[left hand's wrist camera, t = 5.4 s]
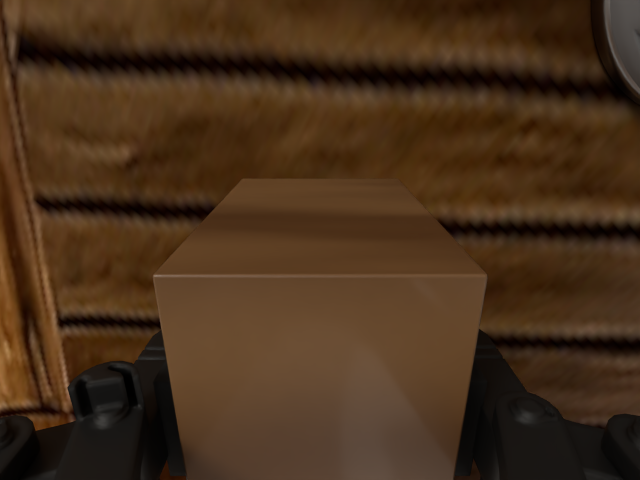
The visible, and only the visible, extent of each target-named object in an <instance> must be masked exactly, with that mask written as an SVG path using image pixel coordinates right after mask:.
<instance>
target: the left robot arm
mask: <svg viewBox="0 0 640 480" xmlns="http://www.w3.org/2000/svg"><path fill="white" fill-rule="evenodd" d="M591 18H592V28H593V33H594V38H595V43H596V46H597V49H598V53H599V56H600V58H601V60H602V62H603V65H604V67H605V69H606V70H607V72H608V74H609V75H610V77H611V79H612V80H613V81H614V82H615V84H616V85H617V86H618V88H619V89H620V90H621V91H622V92H623V93H624V94H625V95H626V96H628V97H629V98H630V99H632V100H633V101H634V102H635V103H637V104H639V105H640V0H591ZM68 391H69V395H70V398H71V402H72V405H73V409H74V413H75V416H76V421H74V422H70V423H67V424H63V425H59V426H55V427H51V428H46V429H42V430H38V431H35V428H34V425H33V422H32V421H31V420H30V419H29V418H27V417H25V416H17V415H15V416H8V417H2V418H0V480H160V478H159V477H160V474H161V472H162V470H163V467H164V465H165V463H166V460H167V461H168V466H169V472H170V476H186V473H185V467H184V461H183V455H182V449H181V443H180V437H179V431H178V425H177V419H176V413H175V407H174V401H173V395H172V389H171V383H170V377H169V371H168V365H167V359H166V353H165V347H164V341H163V335H162V330H161V331H159V332H158V333H157V334H155V335H154V336H153V337H152V338H151V340H150V341H149V343H148V344H147V345H146V347H145V350H143V351H142V353H141V354H140V356H139V357H138V360H136V361H135V363H134V364H132V363H129V362H125V361H111V362H107V363H103V364H99V365H96V366H94V367H92V368H90V369H88V370H86V371H84V372H82V373H81V374H80V375H78V376H77V377H76V378H74V379H73V381H72V382H71V384H70V385H69V386H68ZM473 458H474V460H475V462H476V465H477V467H478V469H479V472H480V474H481V478H480V480H640V416H636V415H630V414H620V415H614V416H613V417H612V418H610V419H609V420H608V423H607V426H606V429H601V428H597V427H592V426H588V425H584V424H580V423H575V422H572V421H569V420H565V419H563V417H562V416H561V414H560V412H559V411H558V409H556V408H555V407H554V406H553V405H552V404H550V403H549V402H548V401H546V400H545V399H543V398H541V397H539V396H537V395H535V394H531V393H528V392H527V391H526V389H525V388H524V386H523V385H522V384H521V382H520V381H519V379H518V378H517V376H516V375H515V374H514V372H513V371H512V369H511V368H510V366H509V365H508V364H507V362H506V361H505V359H503V358H502V355H501V354H500V352H499V351H498V349H496V346H495V345H494V343H493V342H492V341H491V339H490V338H489V336H488V335H487V334H486V333H484V332H483V331H481V330H480V329H479V332H478V338H477V344H476V350H475V356H474V362H473V368H472V374H471V379H470V385H469V391H468V397H467V403H466V409H465V415H464V421H463V427H462V433H461V439H460V445H459V451H458V457H457V463H456V469H455V475H454V476H470V473H471V468H472V462H473Z"/></svg>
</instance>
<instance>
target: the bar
mask: <svg viewBox="0 0 640 480" xmlns="http://www.w3.org/2000/svg"><path fill="white" fill-rule="evenodd" d="M487 278H488V276H487V274H486V273H485V272H484V271H483V270H482V268H481V267H480V266H479V265H478V264H477V263H476V262H475V261H474V260H473V259H472V258H471V257H470V256H469V255H468V253H467V252H466V251H465V250H464V249H463V248H462V247H461V246H460V245H459V244H458V243H457V242H456V241H455V240H454V238H453V237H452V236H451V235H450V234H449V233H448V232H447V231H446V230H445V229H444V228H443V227H442V226H441V224H440V223H439V222H438V221H437V220H436V219H435V218H434V217H433V216H432V215H431V214H430V213H429V212H428V211H427V209H426V208H425V207H424V206H423V205H422V204H421V203H420V202H419V201H418V200H417V199H416V198H415V197H414V196H413V194H412V193H411V192H410V191H409V190H408V189H407V188H406V187H405V186H404V185H403V184H402V183H401V182H400V181H399V179H242V180H241V181H240V182H239V183H238V184H237V185H236V186H235V187H234V188H233V189H232V191H231V192H230V193H229V194H228V195H227V196H226V197H225V198H224V199H223V200H222V201H221V202H220V203H219V204H218V206H217V207H216V208H215V209H214V210H213V211H212V212H211V213H210V214H209V215H208V216H207V217H206V218H205V220H204V221H203V222H202V223H201V224H200V225H199V226H198V227H197V228H196V229H195V230H194V231H193V232H192V234H191V235H190V236H189V237H188V238H187V239H186V240H185V241H184V242H183V243H182V244H181V245H180V246H179V247H178V249H177V250H176V251H175V252H174V253H173V254H172V255H171V256H170V257H169V258H168V259H167V260H166V261H165V263H164V264H163V265H162V266H161V267H160V268H159V269H158V270H157V271H156V272H155V273H154V275H153V281H154V287H155V293H156V299H157V305H158V311H159V317H160V323H161V329H162V335H163V341H164V347H165V353H166V359H167V365H168V371H169V377H170V383H171V389H172V395H173V401H174V407H175V413H176V419H177V425H178V431H179V437H180V443H181V449H182V455H183V461H184V467H185V473H186V479H187V480H454V475H455V469H456V463H457V457H458V451H459V445H460V439H461V433H462V427H463V421H464V415H465V409H466V403H467V397H468V391H469V385H470V379H471V374H472V368H473V362H474V356H475V350H476V344H477V338H478V332H479V326H480V320H481V314H482V308H483V302H484V296H485V290H486V284H487Z"/></svg>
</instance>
